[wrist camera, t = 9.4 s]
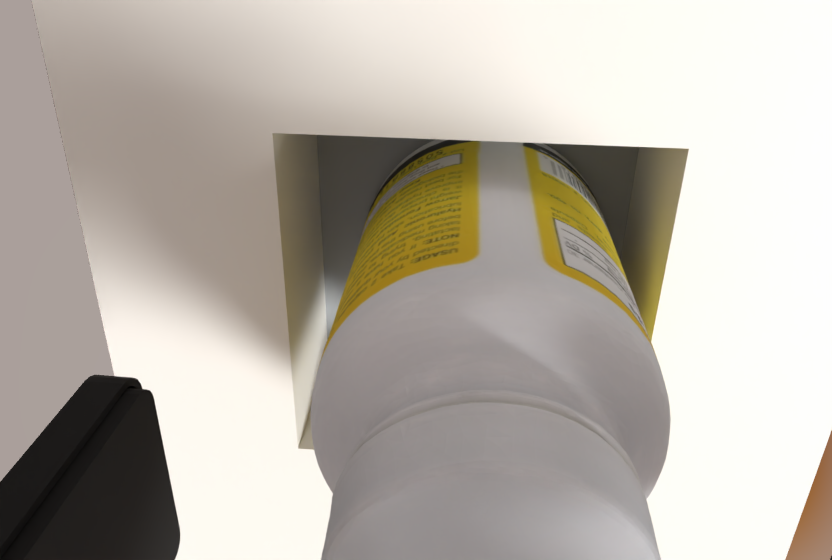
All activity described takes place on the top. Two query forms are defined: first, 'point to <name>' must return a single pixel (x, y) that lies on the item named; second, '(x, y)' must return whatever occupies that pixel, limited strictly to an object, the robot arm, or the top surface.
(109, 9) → the sleeve holder
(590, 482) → the supplement bottle
